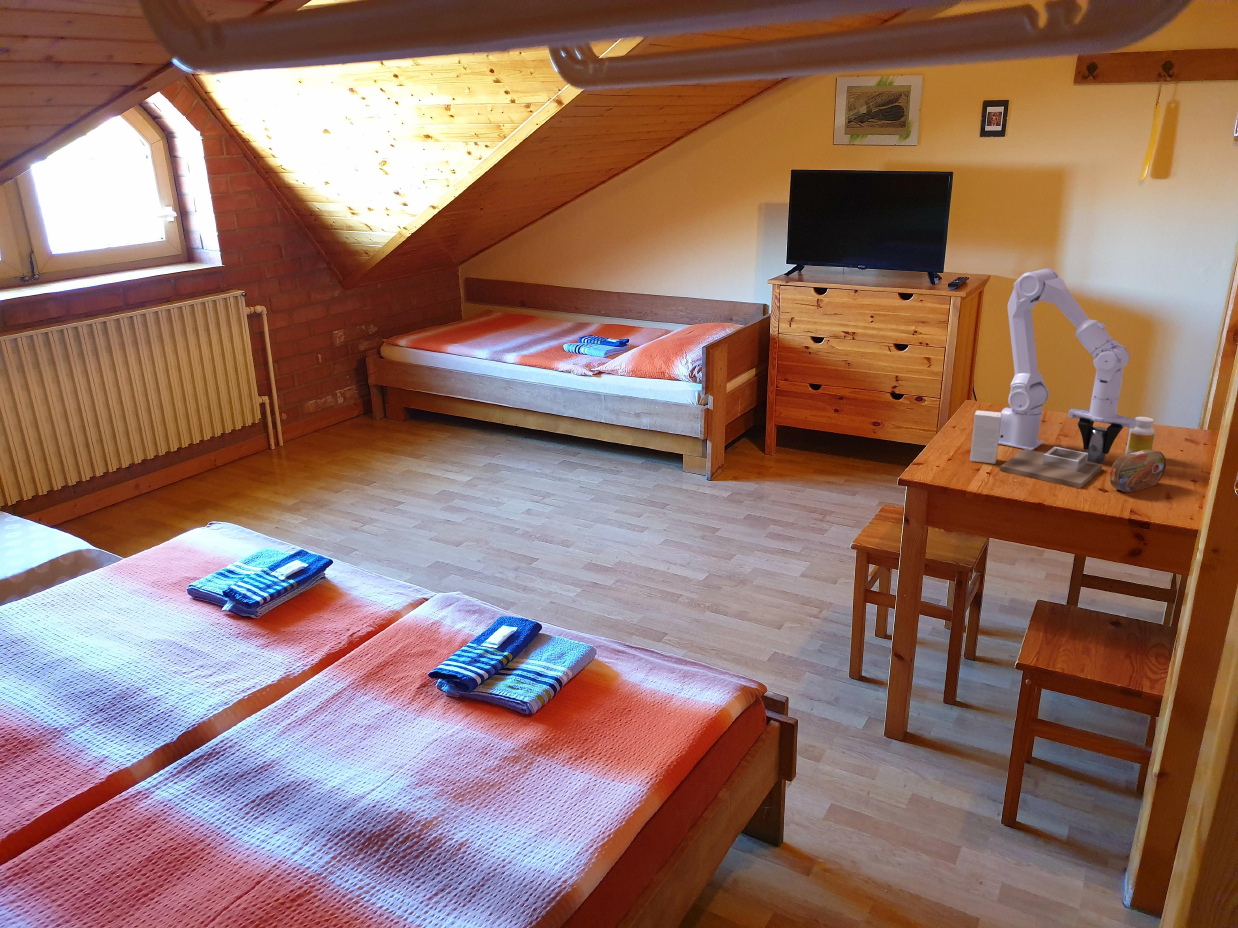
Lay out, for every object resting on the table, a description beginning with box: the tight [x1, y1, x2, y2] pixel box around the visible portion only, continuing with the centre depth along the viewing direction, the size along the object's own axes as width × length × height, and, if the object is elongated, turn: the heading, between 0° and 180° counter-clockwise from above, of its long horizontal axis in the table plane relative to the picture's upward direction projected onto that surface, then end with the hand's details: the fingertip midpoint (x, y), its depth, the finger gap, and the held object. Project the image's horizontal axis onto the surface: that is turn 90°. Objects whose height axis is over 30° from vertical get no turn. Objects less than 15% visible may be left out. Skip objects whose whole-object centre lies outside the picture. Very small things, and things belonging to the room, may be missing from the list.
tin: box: [1109, 449, 1167, 493], centre depth 204 cm, size 15×3×8 cm, turn 114°
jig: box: [999, 446, 1103, 489], centre depth 216 cm, size 18×16×4 cm
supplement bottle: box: [1124, 416, 1156, 455], centre depth 223 cm, size 5×5×10 cm
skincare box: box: [969, 409, 1002, 465], centre depth 222 cm, size 6×4×12 cm
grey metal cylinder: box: [1086, 426, 1107, 464], centre depth 221 cm, size 4×4×8 cm
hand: (1096, 451), depth 221 cm, fingers closed on grey metal cylinder, 4 cm apart
